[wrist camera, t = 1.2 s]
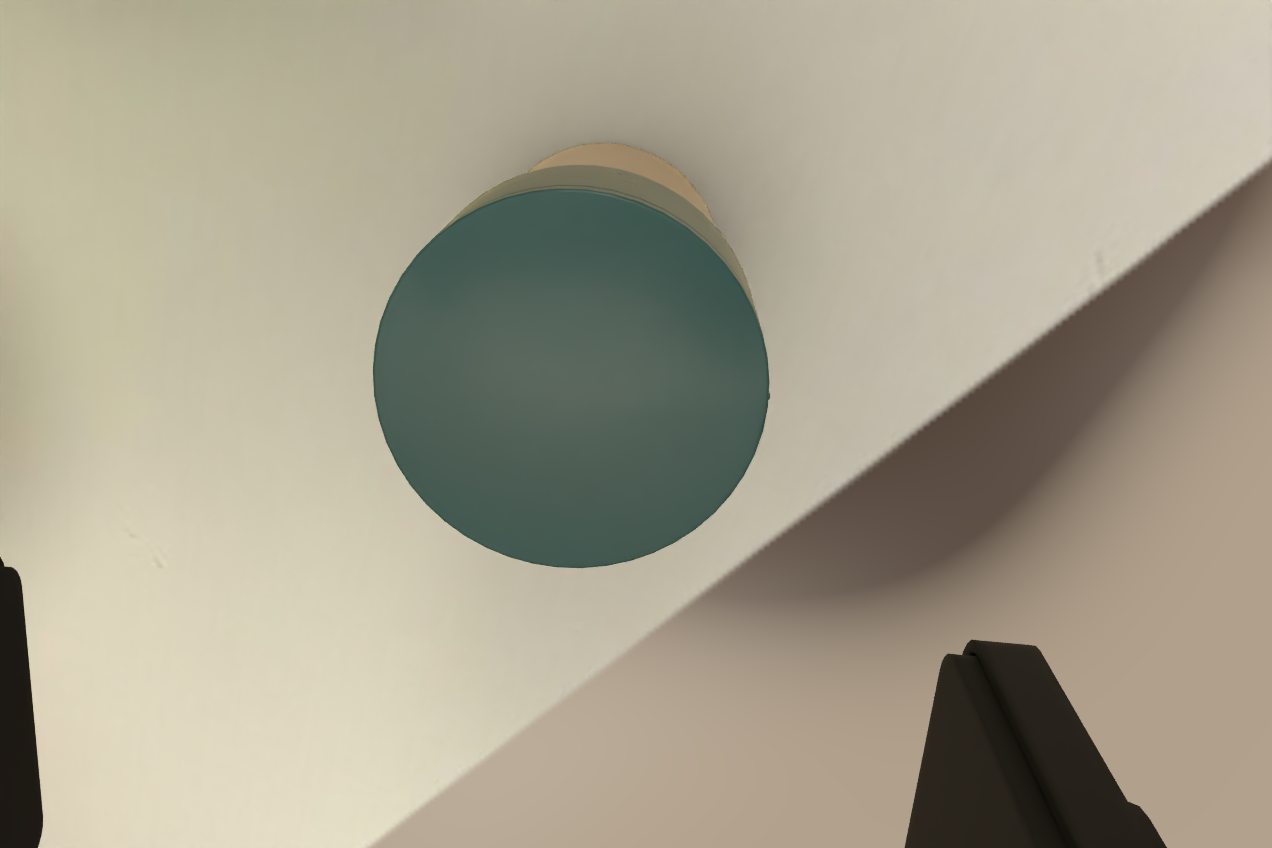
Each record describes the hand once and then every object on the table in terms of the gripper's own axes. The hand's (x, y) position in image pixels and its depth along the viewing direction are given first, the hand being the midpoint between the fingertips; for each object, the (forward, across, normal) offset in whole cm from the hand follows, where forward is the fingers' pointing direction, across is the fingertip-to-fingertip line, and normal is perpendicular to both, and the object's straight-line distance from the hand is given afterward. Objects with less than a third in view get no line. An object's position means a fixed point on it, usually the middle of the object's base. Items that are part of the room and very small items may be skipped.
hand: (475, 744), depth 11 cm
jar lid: (+14, 0, 0) cm, 14 cm away
